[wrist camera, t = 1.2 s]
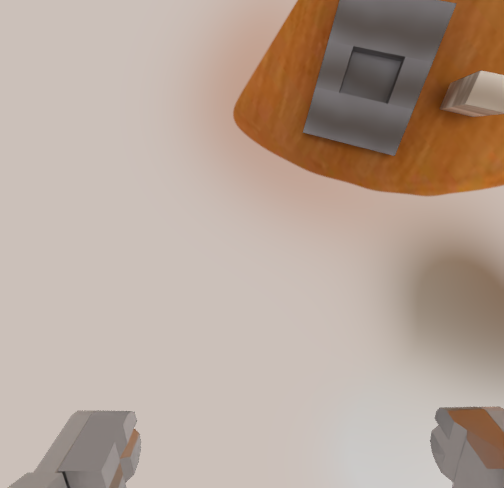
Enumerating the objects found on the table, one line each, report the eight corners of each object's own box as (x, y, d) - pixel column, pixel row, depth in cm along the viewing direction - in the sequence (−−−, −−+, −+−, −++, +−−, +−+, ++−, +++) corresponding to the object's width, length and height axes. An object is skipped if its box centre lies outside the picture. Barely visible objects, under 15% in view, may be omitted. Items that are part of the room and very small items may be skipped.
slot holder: (343, -4, 37) (344, -16, 34) (446, 14, 35) (456, 3, 32) (305, 132, 44) (302, 132, 41) (390, 153, 42) (394, 155, 39)
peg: (450, 83, 38) (481, 70, 29) (485, 90, 37) (525, 79, 29) (439, 109, 39) (465, 104, 31) (472, 116, 38) (508, 113, 30)
